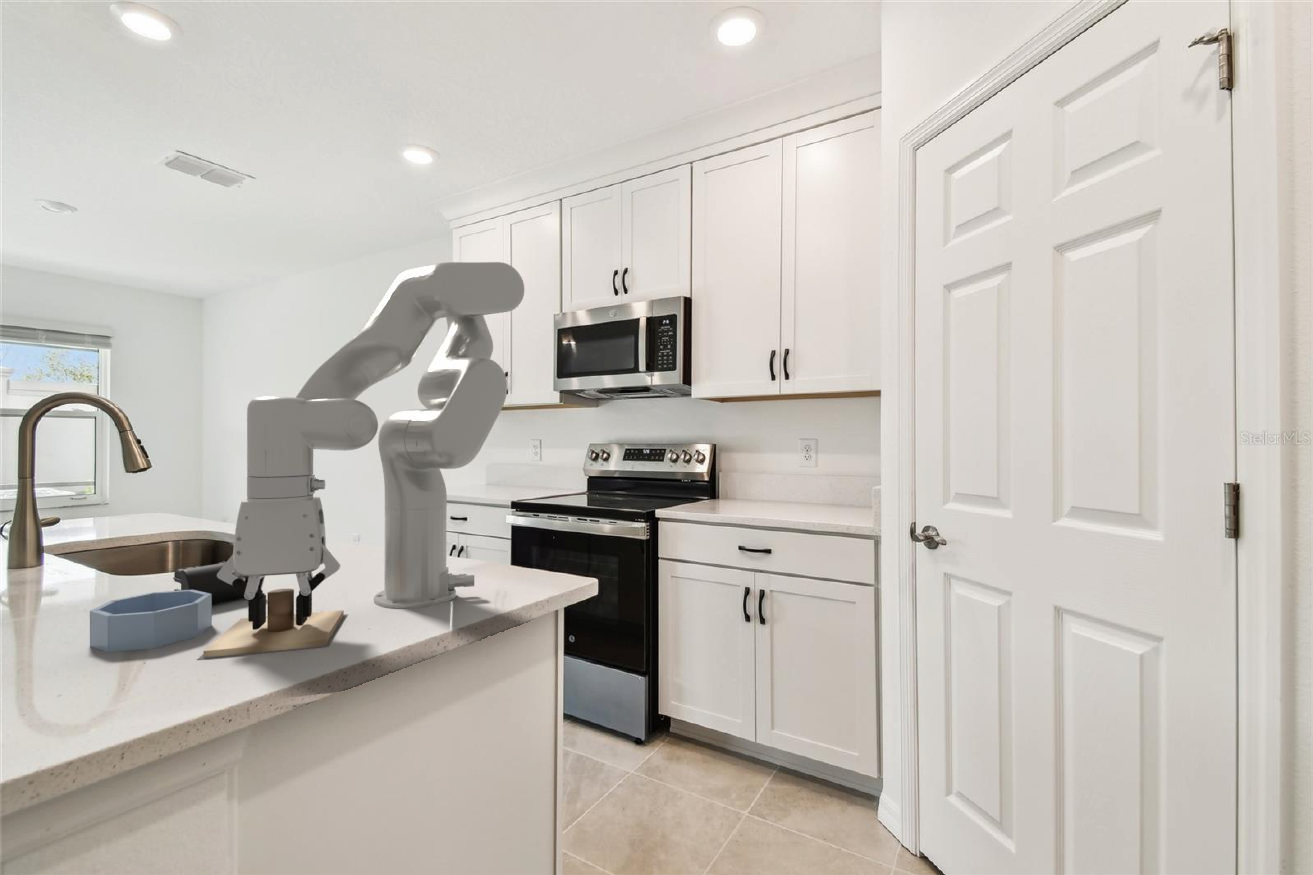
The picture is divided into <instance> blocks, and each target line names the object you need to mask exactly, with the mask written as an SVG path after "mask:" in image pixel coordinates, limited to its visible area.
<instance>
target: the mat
mask: <svg viewBox="0 0 1313 875" xmlns="http://www.w3.org/2000/svg"><path fill="white" fill-rule="evenodd" d="M348 616H349V615H348V614H344V616H343V617H342V619H341V621H340V622H339V624H338V625H337V627H336V629H335V630H334V632H333V634H332V635H331V637H330V638H329V640H328V642H327V643H326V645H325V646H318V647H308V648H298V649H288V650H277V651H267V652H257V653H247V654H237V655H226V656H216V657H206V658H203V654H202V655H201V656H199V657H198V658H196V661H202V660H210V659H211V660H213V659H223V658H231V657H244V656H251V655H252V656H253V655H262V654H273V653H281V652H292V651H302V650H303V651H305V650H313V649H324V648H325V649H326V648H329V647H330V645H331V644H332V642H333V641H334V639H335V637H336V636H337V634H338V632H339V630H340V628H341V627H342V625H343V624H344V622H345V620H346V619H347V617H348Z"/></svg>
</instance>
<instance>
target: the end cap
mask: <svg viewBox="0 0 1313 875" xmlns="http://www.w3.org/2000/svg"><path fill="white" fill-rule="evenodd" d="M226 562H227V561H224V560H222V561H221V562H218V563H214V564H208V565H203V566H202V565H201V566H195V565H192V566H191V567H182V568H179V569H177V570H175V571H174V573H173V574H174V576H173V578H172V579H173V581H174V582H175V583H179V584H180V589H178V588H174V590H173V591H181V590H197V591H201V592H206V593H210V594H212V606H214V605H219V604H223V603H228V602H233V601H237V600H243V599H246V598H245V597H244V595H243V594H242V593H241V592H239V591H238V590H237V589H236V588H234V587H233V585H231V584H228V583H226V582H225V581H223V580H221V579H219V578H218V577H217V573H218V572H219V571H220V570H221V568H222V567H223V566H224V565H225V563H226ZM240 576H241V575H240ZM244 577H246V578H247V579H249V576H244Z"/></svg>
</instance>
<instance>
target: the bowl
mask: <svg viewBox="0 0 1313 875" xmlns="http://www.w3.org/2000/svg"><path fill="white" fill-rule="evenodd" d="M180 590H181V589H180ZM212 608H213V605H212V594H210V593H206V592H201V591H197V590H181V591H174V590H170V591H169V590H168V591H167V590H166V591H153V592H148V593H144V594H138V595H134V596H129V597H122V598H118V599H113V600H110V601H107V602H106V603H103V604H101V605H100V606H97V607H95V608H93V609H91V610H89V647H90V648H91V647H92V648H95V649H98V650H100V651H103V652H106V653H114V652H124V651H125V652H126V651H136V650H147V649H156V648H160V647H163V646H167V645H170V644H174V643H177V642H181V641H186V640H189V639H192V638H193V639H194V638H196V637H199V636H200V635H201V634H203V633H204V632H206V630H208V629H209V628H210V627H212V625H213V624H212V623H213V622H212V620H213V618H212V617H213V614H212V613H213V612H212V611H213V610H212Z"/></svg>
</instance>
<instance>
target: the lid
mask: <svg viewBox="0 0 1313 875" xmlns="http://www.w3.org/2000/svg"><path fill="white" fill-rule="evenodd" d="M344 613H345V612H344V610H343V609H342V610H330V611H319V612H312V614H311V616H310V617H307V620H306V621H305V623H304V624H303V625H302V626H298V625H296V613H295V590H294V589H293V588H279V589H273V590H270V591H268V592H267V615H266V622H265V623H264V624H263V625H262V626H261V627H260V628H259V629H256V630H253V628H252V622H249V621H248V617H243V618H239V619H238V621H236V622H235V623H234V624H233V625H232V626H231V627H229V628H228V629H227V630H226V631H225V632H223V634H221V635H220V636H219V637H218V638H217V639H216V640H214V641H213V642H212V643H211V644H210V645H209V646H207V648H205V649H204V650H203V654H202V655H203V658H206V657H216V656H226V655H237V654H247V653H257V652H267V651H277V650H288V649H298V648H308V647H318V646H325V645H326V643H327V642H328V640H329V638H330V637H331V635H332V634H333V632H334V630H335V629H336V627H337V625H338V624H339V622H340V621H341V619H342V617H343V616H344V615H345V614H344Z"/></svg>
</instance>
